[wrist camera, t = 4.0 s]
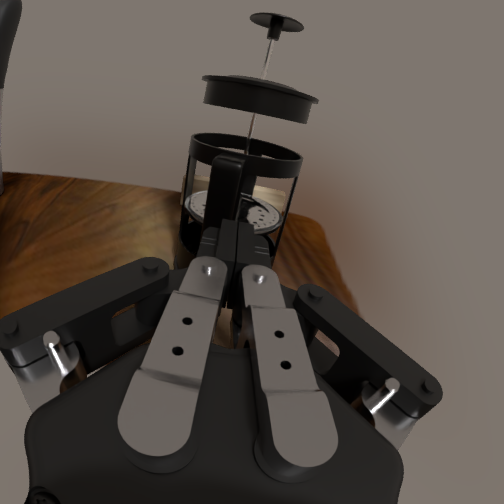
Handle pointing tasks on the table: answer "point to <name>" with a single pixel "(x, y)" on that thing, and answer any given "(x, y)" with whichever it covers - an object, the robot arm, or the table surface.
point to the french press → (242, 154)
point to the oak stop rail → (262, 193)
